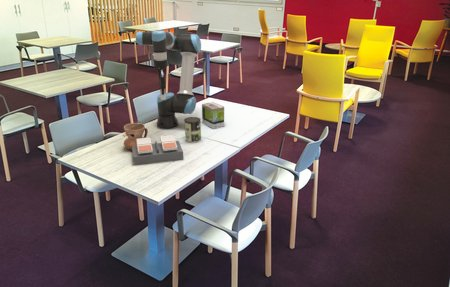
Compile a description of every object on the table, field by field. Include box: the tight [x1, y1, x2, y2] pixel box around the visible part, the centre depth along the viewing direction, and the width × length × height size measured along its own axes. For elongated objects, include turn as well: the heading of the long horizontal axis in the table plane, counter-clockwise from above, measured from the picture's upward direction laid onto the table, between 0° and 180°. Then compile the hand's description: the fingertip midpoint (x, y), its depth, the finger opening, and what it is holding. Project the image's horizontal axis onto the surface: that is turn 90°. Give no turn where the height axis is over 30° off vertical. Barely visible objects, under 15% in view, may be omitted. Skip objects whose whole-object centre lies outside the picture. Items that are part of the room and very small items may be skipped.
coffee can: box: [183, 116, 202, 144], centre depth 237 cm, size 10×10×14 cm
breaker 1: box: [136, 137, 153, 154], centre depth 212 cm, size 14×8×2 cm, turn 16°
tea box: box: [201, 101, 225, 130], centre depth 262 cm, size 15×10×15 cm, turn 34°
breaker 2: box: [160, 134, 177, 151], centre depth 215 cm, size 14×8×2 cm, turn 16°
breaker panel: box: [131, 140, 184, 166], centre depth 216 cm, size 16×28×7 cm, turn 105°
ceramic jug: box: [122, 122, 149, 151], centre depth 226 cm, size 18×14×14 cm
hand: (163, 99), depth 219 cm, fingers closed
